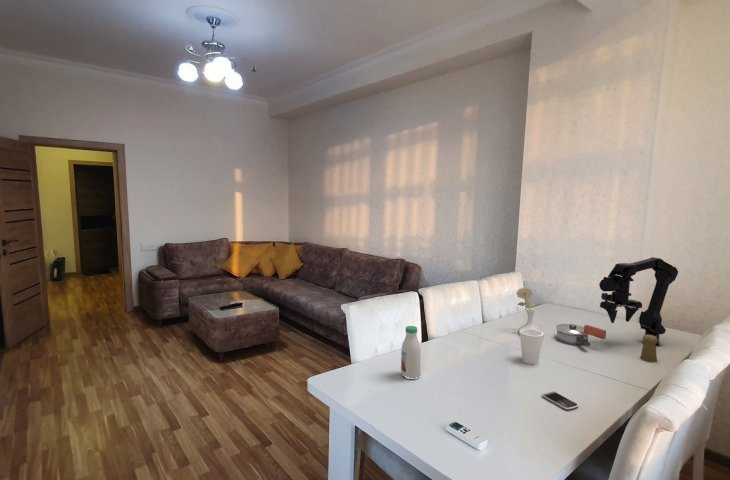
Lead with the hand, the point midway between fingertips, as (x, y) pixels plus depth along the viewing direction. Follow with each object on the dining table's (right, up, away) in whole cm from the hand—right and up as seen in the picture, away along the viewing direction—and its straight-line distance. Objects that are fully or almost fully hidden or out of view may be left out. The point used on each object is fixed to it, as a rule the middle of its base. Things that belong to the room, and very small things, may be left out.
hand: (619, 322), depth 183 cm
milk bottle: (-104, -15, -30) cm, 109 cm away
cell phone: (-54, -18, -49) cm, 75 cm away
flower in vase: (-37, -10, +17) cm, 42 cm away
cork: (+3, -14, -14) cm, 20 cm away
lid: (-16, -6, +5) cm, 18 cm away
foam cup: (-50, -14, -16) cm, 54 cm away
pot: (-18, -11, +6) cm, 22 cm away
